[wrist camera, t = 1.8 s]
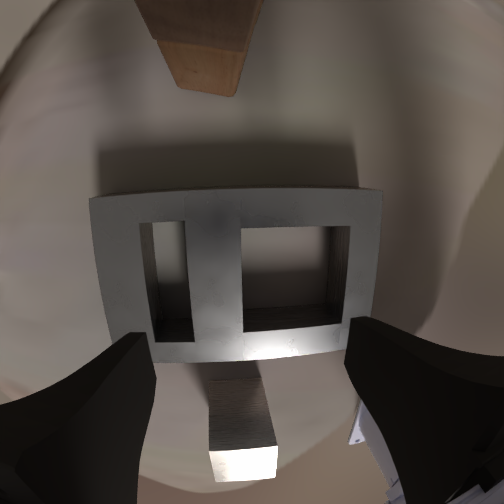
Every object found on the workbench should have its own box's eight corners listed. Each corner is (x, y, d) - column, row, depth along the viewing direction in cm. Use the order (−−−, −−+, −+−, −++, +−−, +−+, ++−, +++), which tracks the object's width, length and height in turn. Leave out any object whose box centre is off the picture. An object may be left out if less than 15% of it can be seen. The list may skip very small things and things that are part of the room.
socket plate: (359, 187, 18) (382, 190, 15) (348, 325, 21) (365, 345, 18) (107, 193, 17) (88, 198, 14) (128, 337, 19) (117, 361, 16)
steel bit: (261, 377, 21) (277, 446, 15) (261, 411, 22) (274, 477, 16) (208, 380, 21) (209, 451, 14) (213, 414, 22) (215, 481, 15)
